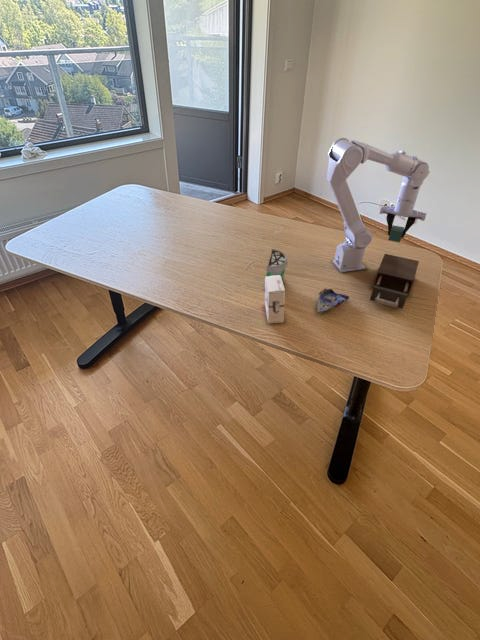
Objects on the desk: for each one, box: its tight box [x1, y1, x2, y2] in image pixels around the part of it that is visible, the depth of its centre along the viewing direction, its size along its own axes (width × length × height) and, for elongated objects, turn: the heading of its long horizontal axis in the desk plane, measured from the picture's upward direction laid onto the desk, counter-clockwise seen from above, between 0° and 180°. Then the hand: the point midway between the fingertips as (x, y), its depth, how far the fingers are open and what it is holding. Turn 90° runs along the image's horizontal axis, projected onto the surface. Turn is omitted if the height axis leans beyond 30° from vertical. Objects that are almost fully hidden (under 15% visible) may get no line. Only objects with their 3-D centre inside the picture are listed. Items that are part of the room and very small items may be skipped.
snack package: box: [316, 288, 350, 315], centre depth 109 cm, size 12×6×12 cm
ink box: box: [264, 275, 286, 324], centre depth 103 cm, size 9×5×12 cm, turn 5°
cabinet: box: [372, 253, 420, 298], centre depth 117 cm, size 13×11×7 cm
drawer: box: [369, 274, 410, 310], centre depth 110 cm, size 17×10×5 cm, turn 152°
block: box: [387, 224, 405, 243], centre depth 123 cm, size 4×4×4 cm
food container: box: [266, 248, 288, 282], centre depth 116 cm, size 12×6×10 cm, turn 168°
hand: (395, 235), depth 123 cm, fingers closed on block, 4 cm apart
